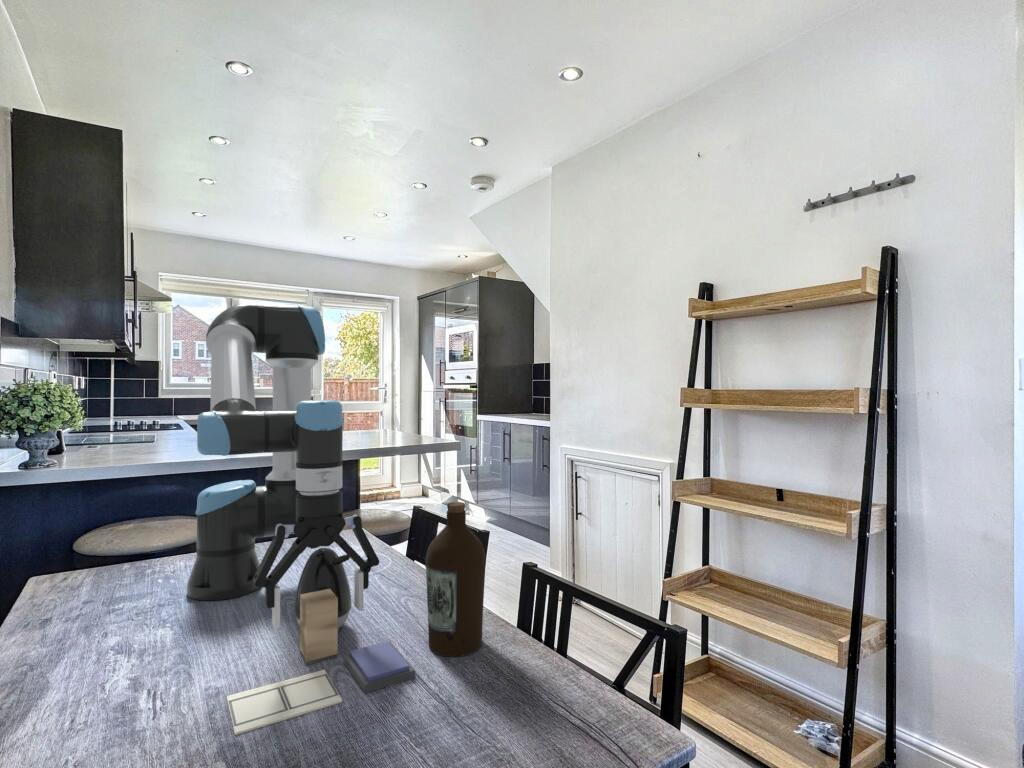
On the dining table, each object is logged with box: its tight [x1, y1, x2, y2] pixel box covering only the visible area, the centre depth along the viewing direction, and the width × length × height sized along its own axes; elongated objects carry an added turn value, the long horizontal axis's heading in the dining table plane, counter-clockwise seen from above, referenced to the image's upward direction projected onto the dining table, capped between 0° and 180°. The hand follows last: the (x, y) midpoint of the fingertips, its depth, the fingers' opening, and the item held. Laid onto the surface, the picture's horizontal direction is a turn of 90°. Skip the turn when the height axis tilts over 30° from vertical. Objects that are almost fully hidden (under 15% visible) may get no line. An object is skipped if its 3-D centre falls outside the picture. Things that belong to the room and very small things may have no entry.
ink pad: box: [343, 641, 416, 694], centre depth 89 cm, size 11×8×2 cm
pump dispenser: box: [293, 547, 352, 630], centre depth 103 cm, size 10×10×15 cm
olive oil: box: [424, 501, 487, 658], centre depth 97 cm, size 11×11×25 cm
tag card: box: [226, 669, 343, 736], centre depth 80 cm, size 10×14×1 cm
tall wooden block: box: [299, 589, 339, 666], centre depth 93 cm, size 5×5×10 cm
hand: (319, 616), depth 93 cm, fingers open, 13 cm apart
